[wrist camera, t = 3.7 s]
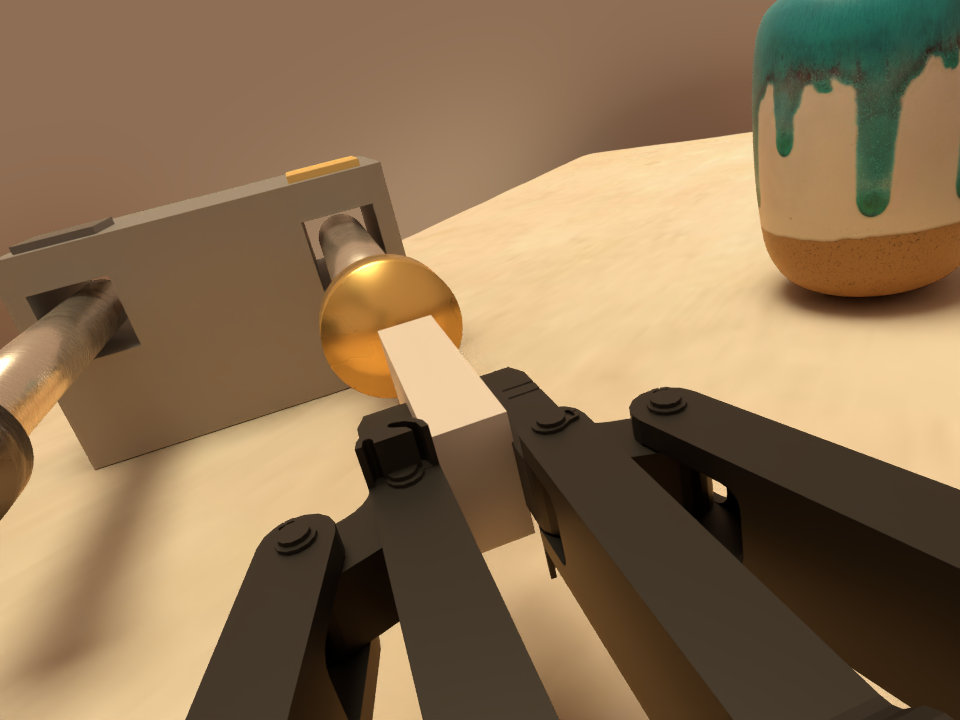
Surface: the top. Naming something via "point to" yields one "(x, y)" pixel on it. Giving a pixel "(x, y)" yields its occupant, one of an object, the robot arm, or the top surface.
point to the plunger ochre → (374, 304)
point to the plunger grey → (48, 373)
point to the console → (200, 305)
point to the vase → (859, 142)
